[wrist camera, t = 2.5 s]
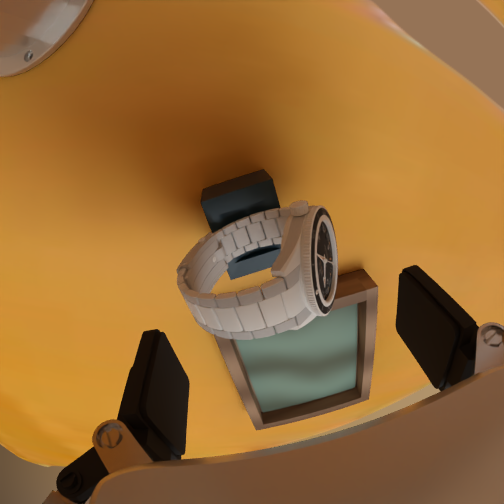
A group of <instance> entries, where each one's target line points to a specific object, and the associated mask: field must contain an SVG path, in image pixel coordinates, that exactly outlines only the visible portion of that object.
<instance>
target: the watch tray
mask: <svg viewBox="0 0 504 504" xmlns="http://www.w3.org/2000/svg"><path fill="white" fill-rule="evenodd" d="M377 303H378V286H377V285H376V283H375V282H374V281H373V280H372V279H371V277H370V276H369V275H368V274H367V273H366V271H365V270H364V269H362V270H358V271H355V272H351V273H348V274H344V275H341V276H338V278H337V288H336V295H335V299H334V303H333V306H332V308H331V310H330V312H329V313H328V315H326V316H316V317H315V318H314V319H313V320H312V321H311V322H309V323H308V324H306V325H305V326H303V327H302V328H300V329H298V330H287V331H284V332H281V333H276V330H275V328H274V330H275V333H276V334H275V335H272V336H268V337H263V338H257V339H255V338H253V339H250V340H237V339H227V338H222V337H219V336H216V334H214V336H215V339H216V341H217V343H218V346H219V348H220V351H221V353H222V355H223V358H224V360H225V362H226V365H227V367H228V369H229V372H230V374H231V376H232V379H233V381H234V383H235V385H236V388H237V390H238V392H239V394H240V397H241V399H242V401H243V403H244V405H245V407H246V410H247V412H248V414H249V416H250V418H251V420H252V422H253V425H254V427H255V429H256V430H261V429H266V428H270V427H275V426H279V425H284V424H288V423H292V422H296V421H300V420H304V419H308V418H311V417H315V416H319V415H322V414H325V413H329V412H332V411H335V410H339V409H342V408H345V407H348V406H351V405H354V404H357V403H360V402H362V401H365V400H368V399H369V394H370V386H371V378H372V370H373V360H374V350H375V337H376V323H377ZM258 305H259V304H258ZM259 308H260V307H259ZM260 311H261V310H260ZM261 313H262V312H261ZM262 316H263V315H262ZM263 319H264V318H263ZM264 321H265V320H264ZM273 327H274V326H273Z"/></svg>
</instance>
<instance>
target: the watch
mask: <svg viewBox="0 0 504 504" xmlns="http://www.w3.org/2000/svg"><path fill="white" fill-rule="evenodd" d="M201 205H202V208H203V210H204V213H205V215H206V218H207V221H208V223H209V226H210V228H211V231H212V233H211V232H209V233H208V234H207V235H206V236H205V237H203V238H201V239H200V240H199V241H198V243H197V244H196V245H195V246H194V247H193V248H192V249H191V250H190V251H189V253H188V254H187V255H186V256H185V258H184V259H183V260H182V262H181V263H180V265H179V267H178V268H177V273H178V276H177V277H178V278H177V285H178V287H179V289H180V291H181V293H182V295H183V297H184V299H185V301H186V303H187V305H188V307H189V309H190V311H191V313H192V314H193V316H194V318H195V320H196V322H197V323H198V324H199V325H200V326H201V327H202V328H203V329H204V330H206V331H208V332H209V333H212V334H216V336H219V337H222V338H227V339H237V340H250V339H253V338H255V339H257V338H263V337H268V336H272V335H275V334H276V333H281V332H284V331H287V330H298V329H300V328H302V327H303V326H305V325H306V324H308V323H309V322H311V321H312V320H313V319H314V318H315V317H316V316H326V315H328V313H329V312H330V310H331V308H332V306H333V303H334V299H335V295H336V288H337V278H338V255H337V244H336V237H335V232H334V228H333V224H332V221H331V218H330V216H329V214H328V212H327V210H326V209H325V207H323V206H308V203H307V201H303V200H302V201H296V202H294V203H292V204H291V205H289V207H284V208H280V205H279V201H278V197H277V194H276V190H275V187H274V184H273V180H272V178H271V177H270V176H269V174H268V173H267V172H266V171H265V170H264V169H263V170H260V171H257V172H253V173H250V174H247V175H244V176H241V177H238V178H235V179H232V180H229V181H226V182H223V183H220V184H217V185H214V186H211V187H208V188H205V189H203V192H202V197H201ZM270 267H272V269H271V273H272V276H273V277H277V278H275V279H273V280H271V281H268V282H266V283H264V284H262V285H261V290H262V293H263V295H262V293H261V290H260V287H259V286H255V287H252V288H249V289H245V290H242V291H239V292H238V294H237V293H236V292H230V293H223V294H218V295H217V296H216V294H210V292H211V290H212V288H213V287H214V285H215V283H216V282H217V281H218V279H219V278H220V277H221V276H222V274H223V273H224V272H225V271H226V270H227V272H228V274H229V276H230V279H231V280H232V279H235V278H239V277H242V276H245V275H248V274H251V273H254V272H258V271H261V270H264V269H267V268H270ZM258 304H259V305H258ZM259 307H260V308H259ZM260 310H261V311H260ZM261 312H262V313H261ZM262 315H263V316H262ZM263 318H264V319H263ZM264 320H265V321H264ZM273 326H274V327H273ZM274 328H275V330H276V333H275V330H274Z"/></svg>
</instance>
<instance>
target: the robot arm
mask: <svg viewBox="0 0 504 504" xmlns="http://www.w3.org/2000/svg"><path fill="white" fill-rule="evenodd" d="M92 3H93V0H0V77H8V76H15V75H18V74H20V73H23V72H26V71H28V70H30V69H31V68H33V67H35V66H37V65H38V64H40V63H41V62H42V61H44V60H45V59H46V58H48V57H49V56H50V55H52V54H53V53H54V52H55V51H56V50H57V49H58V48H59V47H60V46H61V45H62V44H63V43H64V42H65V41H66V40H67V38H68V37H69V36H70V35H71V34H72V33H73V32H74V30H75V29H76V28H77V26H78V25H79V23H80V22H81V21H82V19H83V18H84V17H85V15H86V13H87V11H88V10H89V8H90V6H91V4H92ZM396 330H397V332H398V334H399V335H400V337H401V338H402V340H403V341H404V343H405V344H406V345H407V347H408V348H409V350H410V351H411V353H412V354H413V356H414V357H415V359H416V360H417V362H418V363H419V365H420V366H421V368H422V369H423V371H424V372H425V374H426V375H427V377H428V378H429V380H430V381H431V383H432V385H433V386H434V387H435V388H436V389H438V388H439V390H440V391H441V392H439V393H437V394H435V395H432V396H430V397H428V398H426V399H424V400H422V401H419V402H417V403H415V404H412V405H410V406H408V407H405V408H403V409H400V410H398V411H396V412H393V413H390V414H388V415H385V416H383V417H380V418H377V419H375V420H372V421H369V422H366V423H363V424H360V425H357V426H354V427H351V428H348V429H345V430H342V431H338V432H335V433H331V434H328V435H325V436H320V437H317V438H313V439H309V440H305V441H301V442H297V443H293V444H288V445H283V446H278V447H273V448H268V449H263V450H257V451H251V452H245V453H238V454H231V455H223V456H214V457H205V458H195V459H183V460H181V455H184V454H185V447H186V428H187V413H188V398H189V379H188V376H187V375H186V373H185V371H184V369H183V367H182V365H181V364H180V362H179V360H178V358H177V356H176V354H175V352H174V350H173V348H172V347H171V345H170V343H169V341H168V339H167V337H166V335H165V333H164V332H160V331H159V330H158V329H155V330H149V331H144V332H143V334H142V337H141V341H140V344H139V347H138V351H137V354H136V357H135V361H134V364H133V367H131V369H130V372H129V376H128V379H127V383H126V386H125V390H124V394H123V398H122V401H121V405H120V409H119V413H118V417H117V420H114V419H112V420H107V421H105V422H103V423H101V424H100V425H99V426H98V427H97V428H96V430H95V431H94V434H93V437H92V442H93V445H94V447H92V448H91V449H90V450H88V451H87V452H86V453H84V454H83V455H82V456H80V457H79V458H78V459H76V460H75V461H74V462H72V463H71V464H70V465H68V466H67V467H65V468H64V469H63V470H62V471H61V472H60V473H59V475H58V477H57V481H56V484H57V489H58V490H57V491H56V492H55V491H53V490H52V492H51V493H50V494H49V496H48V497H47V498H46V500H45V501H44V502H43V503H42V504H504V326H502V325H500V324H498V323H494V322H489V323H485V324H483V325H482V326H480V328H479V327H478V326H477V325H476V322H475V321H474V319H473V318H472V317H471V316H470V315H469V314H468V313H467V312H466V311H465V310H464V309H463V308H462V307H461V306H460V305H459V304H458V303H457V302H456V301H455V300H454V299H453V298H452V297H451V296H450V295H449V294H447V293H446V292H445V291H444V290H443V289H442V288H441V287H440V286H439V285H438V284H437V283H436V282H435V281H434V280H433V279H432V278H431V277H429V276H428V275H427V274H426V273H425V272H424V271H423V270H422V269H421V268H420V267H418V266H417V265H413V266H410V267H407V268H404V269H403V270H402V273H400V275H399V286H398V303H397V315H396Z"/></svg>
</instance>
